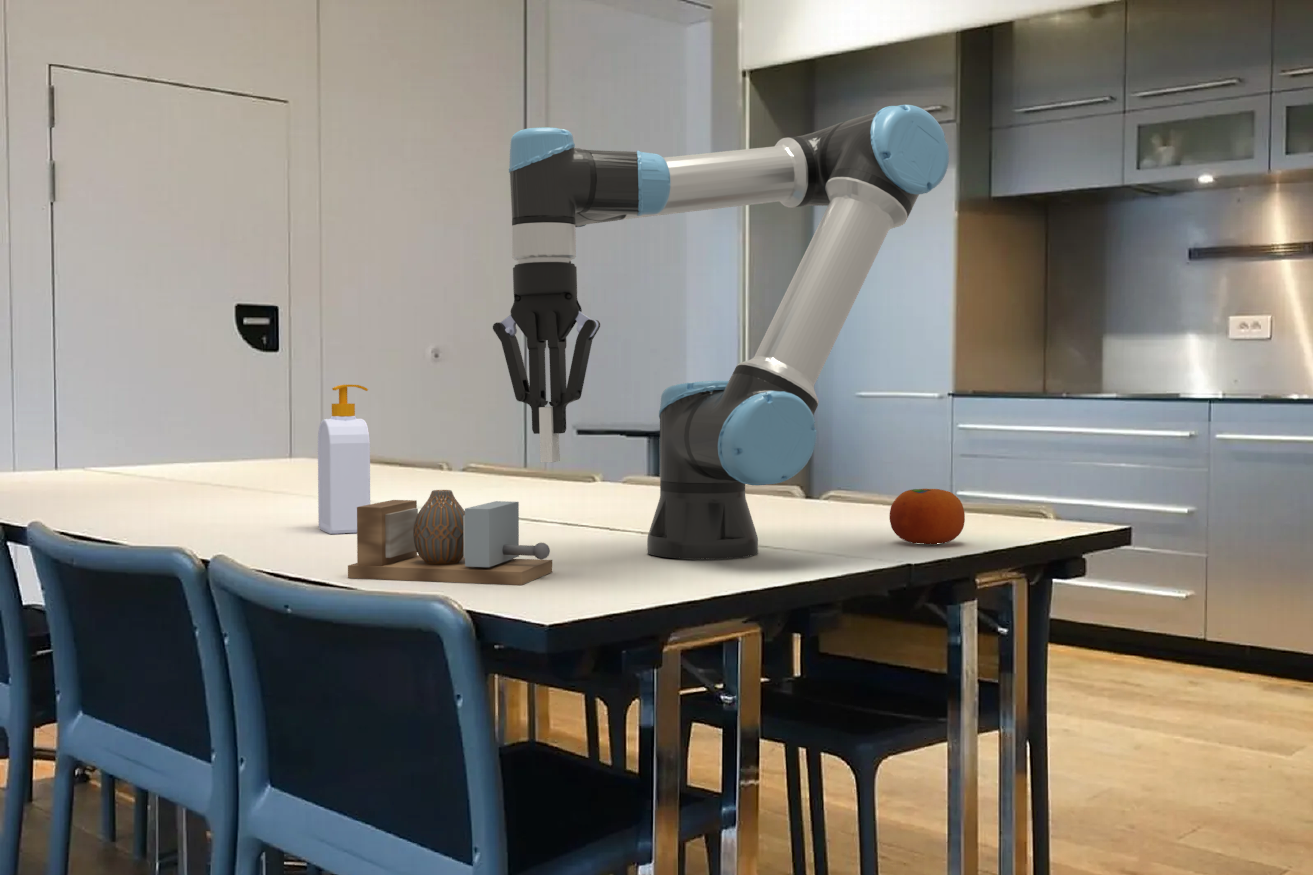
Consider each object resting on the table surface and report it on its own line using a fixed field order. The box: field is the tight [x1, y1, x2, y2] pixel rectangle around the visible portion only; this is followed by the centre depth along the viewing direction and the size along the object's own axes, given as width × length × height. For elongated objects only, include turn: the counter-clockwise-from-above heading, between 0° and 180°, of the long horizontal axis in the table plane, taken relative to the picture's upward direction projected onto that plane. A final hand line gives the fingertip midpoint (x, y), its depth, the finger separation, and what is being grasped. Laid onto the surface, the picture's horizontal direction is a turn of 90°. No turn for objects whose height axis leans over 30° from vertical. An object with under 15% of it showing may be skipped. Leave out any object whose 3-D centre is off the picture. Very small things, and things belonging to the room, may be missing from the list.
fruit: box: [889, 488, 966, 545], centre depth 198 cm, size 11×10×8 cm
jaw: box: [463, 500, 551, 567], centre depth 164 cm, size 9×10×7 cm
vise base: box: [347, 499, 553, 586], centre depth 166 cm, size 22×11×8 cm, turn 76°
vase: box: [413, 489, 465, 564], centre depth 167 cm, size 7×7×9 cm
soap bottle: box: [317, 384, 371, 535], centre depth 214 cm, size 9×7×23 cm
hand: (550, 461), depth 163 cm, fingers closed
